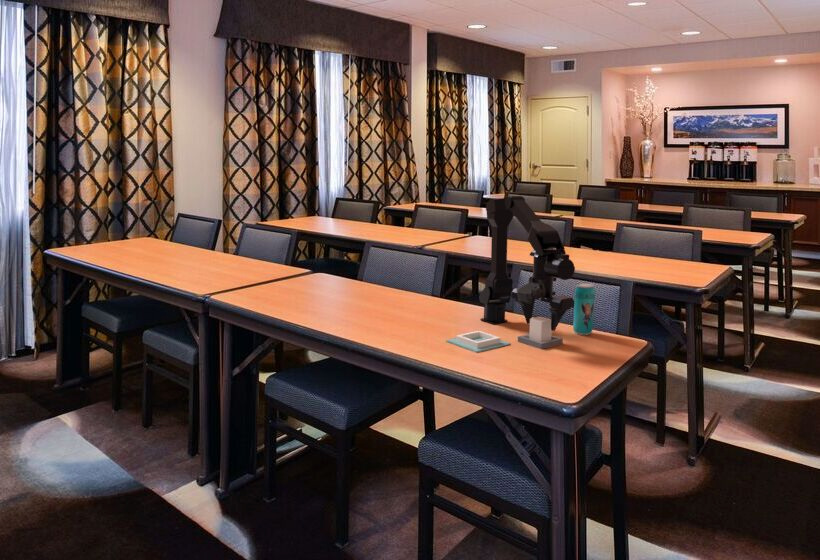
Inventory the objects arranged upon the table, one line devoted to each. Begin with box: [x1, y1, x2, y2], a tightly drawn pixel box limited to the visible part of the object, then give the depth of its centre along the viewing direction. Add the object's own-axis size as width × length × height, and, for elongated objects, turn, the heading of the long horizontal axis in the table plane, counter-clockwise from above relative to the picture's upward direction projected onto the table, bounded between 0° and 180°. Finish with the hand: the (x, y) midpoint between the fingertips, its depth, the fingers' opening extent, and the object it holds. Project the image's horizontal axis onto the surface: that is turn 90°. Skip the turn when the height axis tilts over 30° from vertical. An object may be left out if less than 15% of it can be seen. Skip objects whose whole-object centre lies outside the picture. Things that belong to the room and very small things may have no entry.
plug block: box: [528, 316, 553, 342], centre depth 179 cm, size 4×5×7 cm
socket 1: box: [445, 330, 511, 354], centre depth 178 cm, size 13×13×2 cm
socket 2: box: [517, 333, 564, 350], centre depth 179 cm, size 9×9×2 cm
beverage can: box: [572, 282, 596, 336], centre depth 188 cm, size 6×6×15 cm
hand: (540, 327), depth 179 cm, fingers open, 9 cm apart
